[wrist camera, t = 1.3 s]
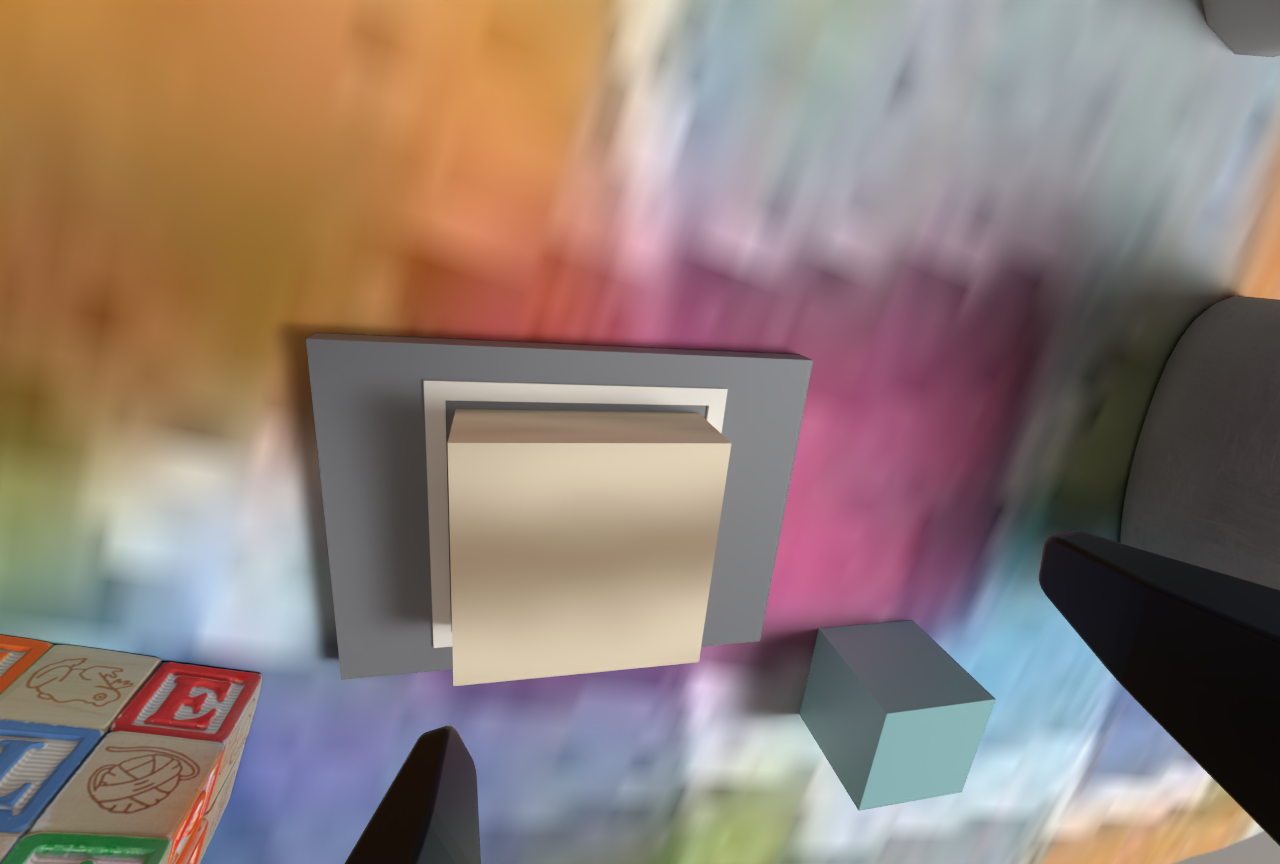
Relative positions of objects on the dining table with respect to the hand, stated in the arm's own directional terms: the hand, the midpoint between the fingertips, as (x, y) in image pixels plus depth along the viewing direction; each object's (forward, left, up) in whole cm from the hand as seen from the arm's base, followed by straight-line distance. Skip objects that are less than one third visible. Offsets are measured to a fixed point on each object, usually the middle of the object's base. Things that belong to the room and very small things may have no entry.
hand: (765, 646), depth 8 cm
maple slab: (-4, +1, -12) cm, 12 cm away
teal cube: (-13, -13, -13) cm, 22 cm away
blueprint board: (-4, +1, -13) cm, 13 cm away
